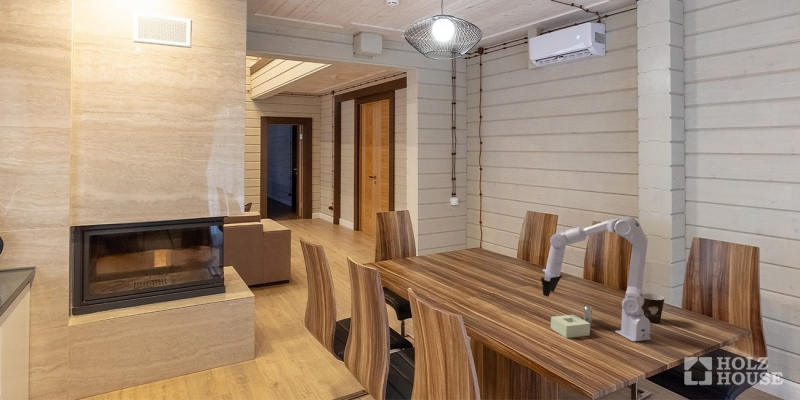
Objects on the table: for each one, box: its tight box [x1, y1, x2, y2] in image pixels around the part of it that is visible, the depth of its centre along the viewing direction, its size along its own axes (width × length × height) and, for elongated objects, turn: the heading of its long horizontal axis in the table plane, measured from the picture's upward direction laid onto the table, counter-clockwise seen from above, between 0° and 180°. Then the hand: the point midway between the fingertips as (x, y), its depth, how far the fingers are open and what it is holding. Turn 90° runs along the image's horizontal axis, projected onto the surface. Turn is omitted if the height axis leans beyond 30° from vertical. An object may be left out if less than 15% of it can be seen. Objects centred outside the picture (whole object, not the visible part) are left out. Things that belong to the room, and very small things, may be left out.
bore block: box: [550, 314, 591, 339], centre depth 175 cm, size 10×10×4 cm
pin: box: [583, 304, 593, 329], centre depth 180 cm, size 3×3×8 cm
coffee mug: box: [641, 292, 666, 324], centre depth 187 cm, size 12×9×10 cm
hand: (548, 293), depth 188 cm, fingers open, 7 cm apart
